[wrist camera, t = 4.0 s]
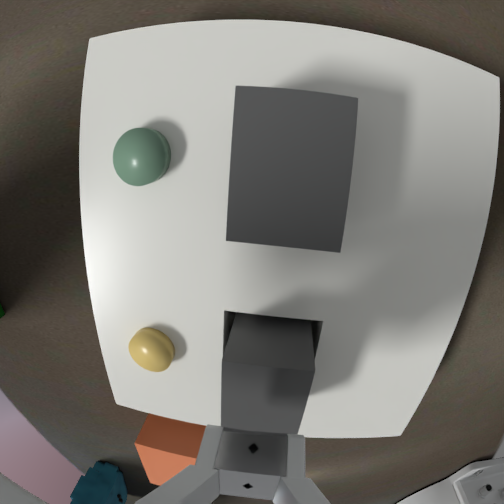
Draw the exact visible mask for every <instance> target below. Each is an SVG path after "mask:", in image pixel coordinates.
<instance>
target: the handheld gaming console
mask: <svg viewBox="0 0 504 504" xmlns="http://www.w3.org/2000/svg"><path fill="white" fill-rule="evenodd" d="M127 493H128V492H127V488H126V484H125V481H124V477H123V473H122V472H121V471H119V468H118V467H117V466H115V465H113V464H110V463H108V462H106V463H102V462H100V461H98V462H96V463H95V465H94V467H93V468H91V467H90V468H89V469H88V471H87V473H86V475H85V476H83V475H82V476H81V477H80V479H79V481H78V483H77V485H76V486H75V488H74V490H73V492H72V494H71V496H70V497H71V499H72V501H71V503H70V504H125V502H126V500H127V499H126V498H127Z"/></svg>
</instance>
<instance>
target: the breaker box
mask: <svg viewBox="0 0 504 504" xmlns="http://www.w3.org/2000/svg"><path fill="white" fill-rule="evenodd" d="M236 86H258V87H274V88H287V89H297V90H307V91H315V92H323V93H330V94H337V95H344V96H350V97H356V98H358V112H357V125H356V137H355V147H354V157H353V167H352V175H351V184H350V192H349V199H348V207H347V214H346V221H345V227H344V234H343V240H342V246H341V252H340V253H337V252H328V251H319V250H309V249H300V248H290V247H281V246H271V245H261V244H252V243H242V242H232V241H226V227H227V208H228V190H229V173H230V157H231V142H232V127H233V113H234V100H235V87H236ZM499 122H500V81H499V77H497V76H495V75H493V74H491V73H489V72H486V71H484V70H482V69H480V68H477V67H475V66H473V65H470V64H468V63H466V62H463V61H461V60H458V59H455V58H453V57H450V56H447V55H445V54H442V53H439V52H436V51H433V50H430V49H427V48H424V47H421V46H417V45H414V44H411V43H407V42H404V41H400V40H396V39H392V38H388V37H384V36H380V35H376V34H371V33H367V32H362V31H357V30H351V29H346V28H340V27H333V26H326V25H319V24H311V23H301V22H290V21H275V20H207V21H192V22H180V23H171V24H163V25H155V26H148V27H142V28H136V29H131V30H125V31H120V32H115V33H111V34H106V35H102V36H98V37H94V38H90V39H89V45H88V51H87V58H86V65H85V73H84V82H83V92H82V103H81V118H80V143H79V180H80V206H81V221H82V233H83V244H84V253H85V261H86V269H87V276H88V283H89V290H90V296H91V301H92V307H93V313H94V318H95V323H96V328H97V332H98V337H99V341H100V346H101V350H102V354H103V358H104V362H105V366H106V370H107V374H108V377H109V381H110V385H111V388H112V391H113V395H114V398H115V401H116V404H119V405H122V406H125V407H129V408H132V409H136V410H139V411H143V412H147V413H151V414H154V415H158V416H163V417H167V418H171V419H175V420H180V421H185V422H189V423H194V424H200V425H205V426H207V424H210V425H216V426H221V372H222V358H223V355H224V352H225V348H226V345H227V342H228V339H229V335H230V332H231V329H232V326H233V322H234V319H235V316H236V312H241V313H249V314H258V315H267V316H276V317H286V318H296V319H306V320H311V329H312V339H313V350H314V361H315V374H314V378H313V382H312V386H311V389H310V393H309V397H308V400H307V404H306V407H305V411H304V414H303V418H302V421H301V425H300V428H299V431H298V434H297V435H304V437H314V438H370V437H389V436H401V434H402V432H403V431H404V429H405V427H406V426H407V424H408V423H409V421H410V419H411V417H412V416H413V414H414V412H415V411H416V409H417V407H418V405H419V403H420V402H421V400H422V398H423V396H424V394H425V392H426V390H427V389H428V387H429V385H430V383H431V381H432V379H433V377H434V375H435V373H436V371H437V368H438V366H439V364H440V362H441V360H442V358H443V355H444V353H445V351H446V349H447V346H448V344H449V342H450V339H451V337H452V335H453V332H454V330H455V327H456V325H457V322H458V319H459V317H460V314H461V311H462V309H463V306H464V303H465V300H466V297H467V294H468V291H469V288H470V285H471V282H472V279H473V275H474V272H475V268H476V265H477V261H478V258H479V254H480V250H481V246H482V242H483V238H484V234H485V229H486V225H487V220H488V215H489V210H490V204H491V199H492V193H493V186H494V179H495V171H496V163H497V153H498V140H499Z"/></svg>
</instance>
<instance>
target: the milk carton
mask: <svg viewBox="0 0 504 504" xmlns="http://www.w3.org/2000/svg"><path fill="white" fill-rule="evenodd" d="M4 315H5V312H4V310H3V308H2V306H1V304H0V318H1V317H3V316H4Z"/></svg>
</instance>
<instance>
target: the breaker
mask: <svg viewBox="0 0 504 504" xmlns="http://www.w3.org/2000/svg"><path fill="white" fill-rule="evenodd" d="M357 112H358V98H356V97H350V96H344V95H337V94H330V93H323V92H315V91H307V90H297V89H287V88H274V87H258V86H236V87H235V100H234V113H233V127H232V142H231V157H230V173H229V190H228V208H227V227H226V241H232V242H242V243H252V244H261V245H271V246H281V247H290V248H300V249H309V250H319V251H328V252H337V253H340V252H341V246H342V240H343V234H344V227H345V221H346V214H347V207H348V199H349V192H350V184H351V175H352V167H353V157H354V147H355V137H356V125H357Z"/></svg>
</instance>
